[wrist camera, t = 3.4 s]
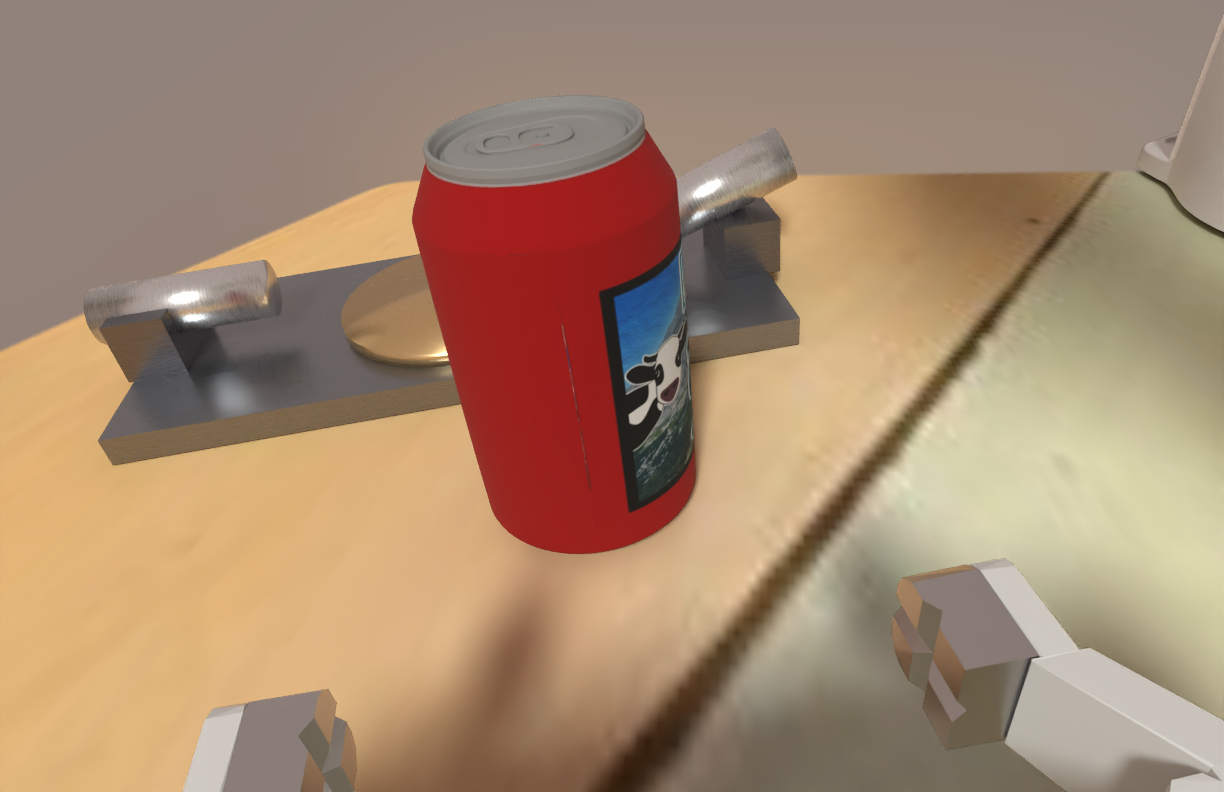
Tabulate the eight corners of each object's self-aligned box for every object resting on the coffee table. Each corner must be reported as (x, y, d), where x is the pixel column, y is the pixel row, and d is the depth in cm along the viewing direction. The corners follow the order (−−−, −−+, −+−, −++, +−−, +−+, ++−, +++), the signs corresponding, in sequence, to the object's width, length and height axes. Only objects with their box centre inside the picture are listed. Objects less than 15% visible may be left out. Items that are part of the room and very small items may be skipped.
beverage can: (724, 545, 24) (709, 147, 17) (500, 595, 23) (386, 203, 16) (669, 414, 29) (639, 72, 22) (486, 452, 29) (396, 113, 22)
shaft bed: (753, 220, 42) (752, 88, 38) (839, 336, 32) (850, 174, 28) (179, 316, 40) (115, 189, 36) (86, 469, 30) (-14, 317, 26)
